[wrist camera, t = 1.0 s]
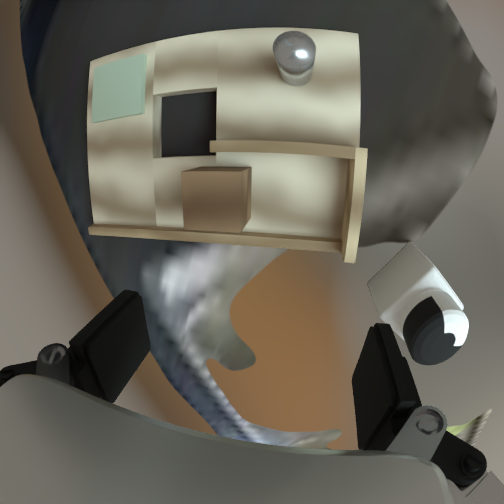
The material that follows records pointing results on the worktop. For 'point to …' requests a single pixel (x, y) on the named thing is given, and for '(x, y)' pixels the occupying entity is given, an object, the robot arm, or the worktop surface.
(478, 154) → the worktop surface
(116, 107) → the pad
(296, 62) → the grey metal peg
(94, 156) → the board
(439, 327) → the medicine bottle
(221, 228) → the walnut cube
